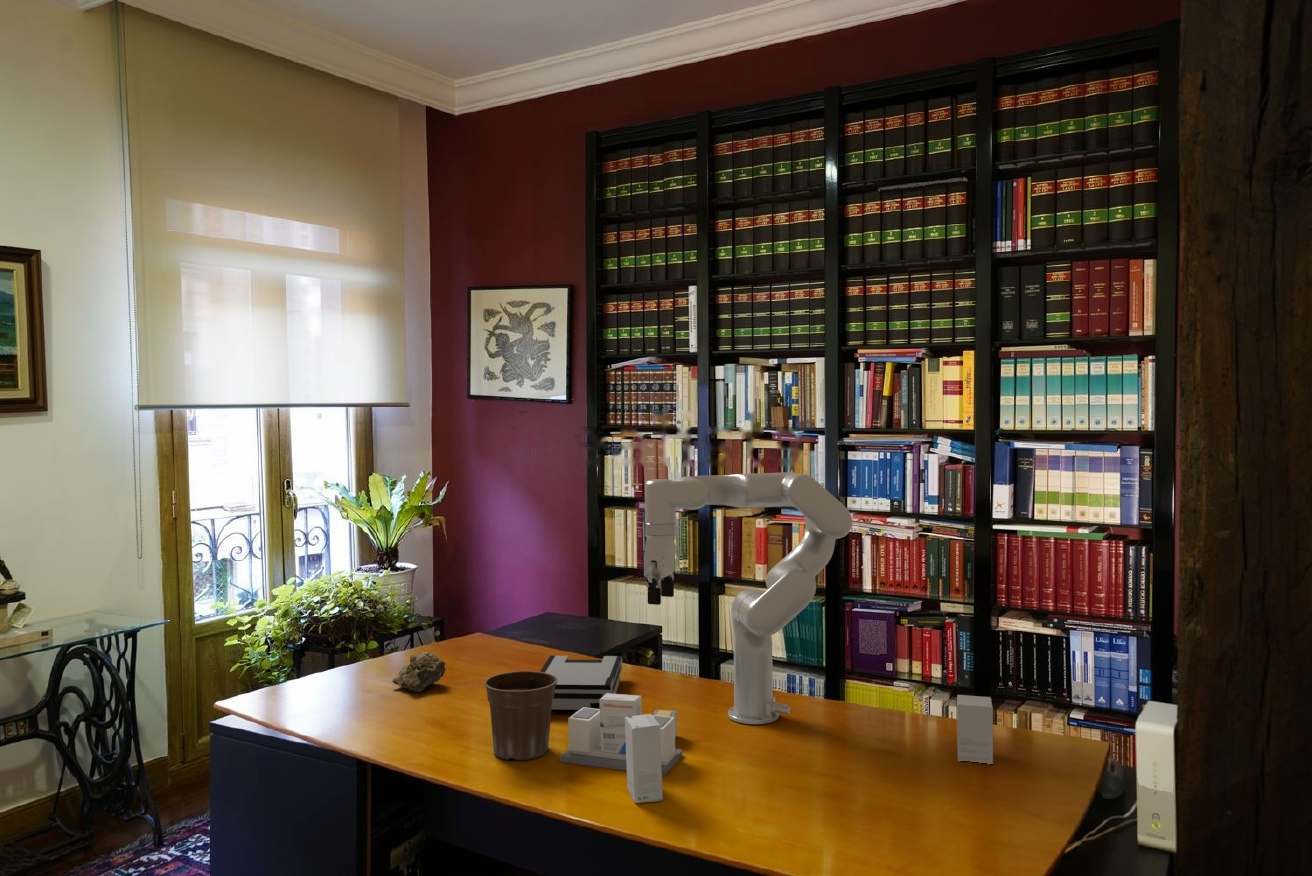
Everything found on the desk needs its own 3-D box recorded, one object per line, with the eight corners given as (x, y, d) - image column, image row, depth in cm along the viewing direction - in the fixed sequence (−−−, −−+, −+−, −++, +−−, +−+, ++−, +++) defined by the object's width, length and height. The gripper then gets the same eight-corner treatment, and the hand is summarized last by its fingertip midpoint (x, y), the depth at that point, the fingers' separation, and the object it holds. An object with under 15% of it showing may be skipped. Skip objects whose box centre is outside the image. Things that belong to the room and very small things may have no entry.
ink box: (643, 747, 197) (643, 694, 197) (637, 755, 192) (636, 701, 192) (606, 744, 199) (605, 691, 199) (599, 752, 195) (598, 698, 194)
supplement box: (992, 753, 198) (992, 696, 197) (993, 766, 191) (993, 707, 190) (957, 749, 200) (957, 693, 200) (956, 761, 193) (956, 703, 193)
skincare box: (663, 801, 174) (662, 725, 174) (633, 805, 173) (632, 728, 172) (653, 784, 182) (653, 712, 182) (624, 787, 181) (624, 714, 181)
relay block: (676, 736, 210) (676, 709, 210) (672, 745, 204) (672, 718, 204) (655, 735, 211) (655, 708, 211) (651, 744, 205) (651, 717, 205)
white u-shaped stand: (682, 755, 198) (682, 714, 198) (664, 775, 187) (664, 732, 186) (583, 743, 206) (582, 703, 206) (560, 762, 195) (560, 720, 194)
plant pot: (529, 733, 212) (529, 666, 212) (572, 751, 201) (572, 679, 201) (470, 751, 201) (470, 680, 201) (513, 771, 190) (512, 695, 189)
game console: (622, 680, 256) (622, 652, 256) (610, 717, 224) (610, 685, 224) (550, 679, 257) (550, 651, 257) (528, 716, 225) (528, 684, 225)
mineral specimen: (380, 688, 249) (380, 653, 249) (417, 677, 259) (417, 643, 259) (415, 697, 241) (415, 661, 240) (452, 686, 251) (451, 650, 251)
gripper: (657, 525, 227) (658, 592, 227) (633, 534, 211) (634, 606, 211) (685, 526, 224) (686, 594, 225) (663, 535, 208) (664, 608, 208)
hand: (661, 600), depth 218 cm, fingers open, 9 cm apart
